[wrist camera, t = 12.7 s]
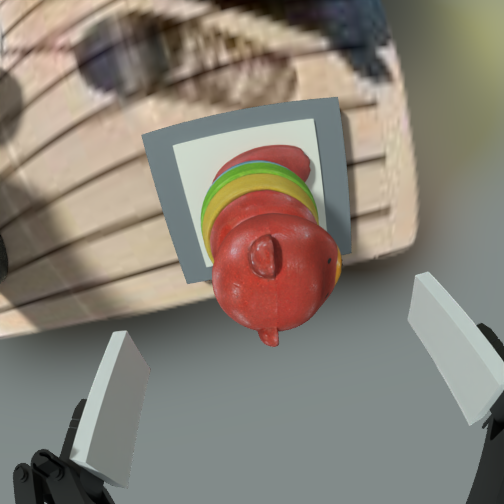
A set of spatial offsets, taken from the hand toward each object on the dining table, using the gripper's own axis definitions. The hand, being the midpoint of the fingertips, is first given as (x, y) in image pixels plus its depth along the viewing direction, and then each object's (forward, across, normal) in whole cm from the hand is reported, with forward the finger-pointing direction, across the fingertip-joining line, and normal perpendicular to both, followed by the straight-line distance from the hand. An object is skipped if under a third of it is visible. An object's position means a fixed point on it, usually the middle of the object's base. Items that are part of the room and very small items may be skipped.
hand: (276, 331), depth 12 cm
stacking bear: (+20, +1, 0) cm, 20 cm away
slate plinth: (+23, 0, 0) cm, 23 cm away
